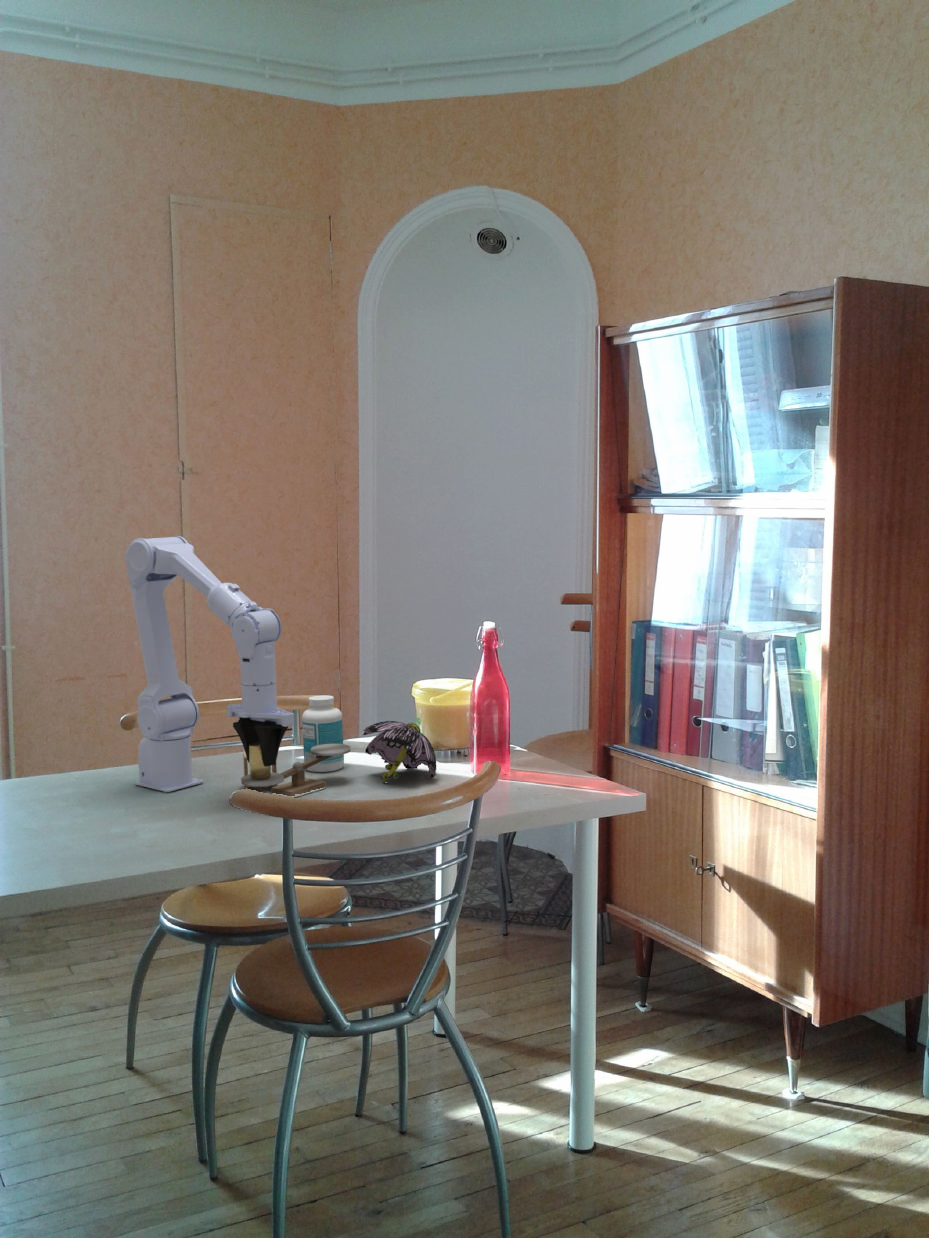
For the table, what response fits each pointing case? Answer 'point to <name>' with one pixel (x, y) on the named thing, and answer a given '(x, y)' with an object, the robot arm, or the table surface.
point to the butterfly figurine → (401, 747)
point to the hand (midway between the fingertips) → (261, 763)
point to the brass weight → (257, 762)
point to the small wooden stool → (247, 767)
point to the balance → (298, 773)
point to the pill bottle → (322, 731)
